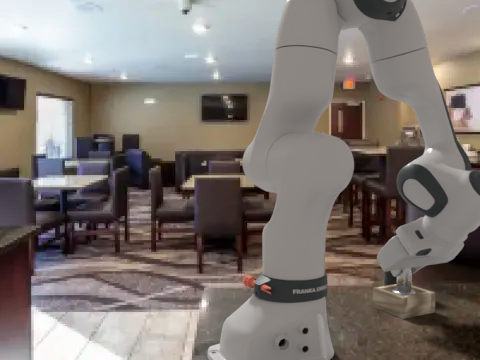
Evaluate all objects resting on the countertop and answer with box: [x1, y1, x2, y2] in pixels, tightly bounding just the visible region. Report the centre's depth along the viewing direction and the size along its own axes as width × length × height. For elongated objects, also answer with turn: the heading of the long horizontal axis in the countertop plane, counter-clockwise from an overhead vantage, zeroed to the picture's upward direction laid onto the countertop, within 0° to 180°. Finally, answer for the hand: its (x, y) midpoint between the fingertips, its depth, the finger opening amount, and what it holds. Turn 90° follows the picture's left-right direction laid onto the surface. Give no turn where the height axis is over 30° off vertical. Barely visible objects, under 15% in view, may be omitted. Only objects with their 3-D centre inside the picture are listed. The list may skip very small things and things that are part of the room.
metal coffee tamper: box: [392, 268, 416, 296], centre depth 116 cm, size 5×5×11 cm
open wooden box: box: [372, 284, 436, 320], centre depth 116 cm, size 9×9×4 cm
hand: (402, 272), depth 117 cm, fingers closed on metal coffee tamper, 3 cm apart
